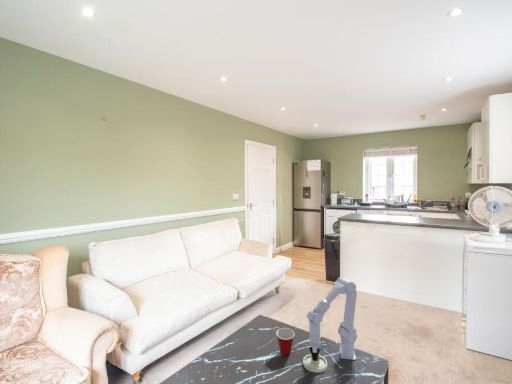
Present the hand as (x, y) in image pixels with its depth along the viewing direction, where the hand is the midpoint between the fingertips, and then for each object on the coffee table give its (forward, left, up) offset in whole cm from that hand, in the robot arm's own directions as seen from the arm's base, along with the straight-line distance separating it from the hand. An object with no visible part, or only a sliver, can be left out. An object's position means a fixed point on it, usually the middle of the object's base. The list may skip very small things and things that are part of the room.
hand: (315, 357), depth 148 cm
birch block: (0, 0, -2) cm, 2 cm away
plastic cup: (-7, -17, -4) cm, 19 cm away
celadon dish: (0, 0, -4) cm, 4 cm away
